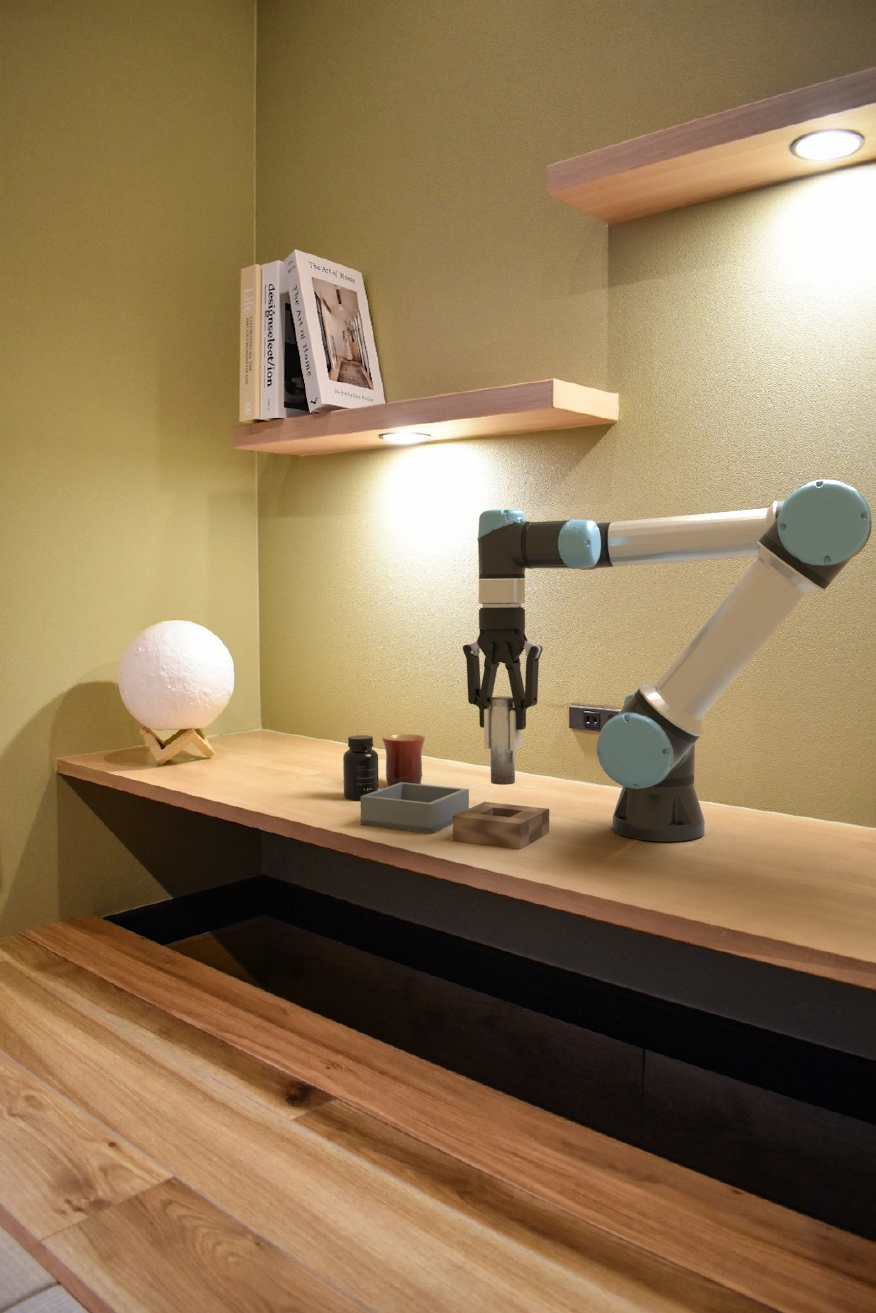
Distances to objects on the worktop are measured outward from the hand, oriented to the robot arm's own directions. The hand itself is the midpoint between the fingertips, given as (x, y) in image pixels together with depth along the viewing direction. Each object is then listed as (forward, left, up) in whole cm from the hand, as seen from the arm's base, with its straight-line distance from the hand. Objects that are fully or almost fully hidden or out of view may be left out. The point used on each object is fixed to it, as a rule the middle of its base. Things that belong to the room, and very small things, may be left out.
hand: (502, 748), depth 167 cm
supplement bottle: (+37, -15, -15) cm, 43 cm away
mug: (+36, -29, -15) cm, 49 cm away
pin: (0, 0, -6) cm, 6 cm away
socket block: (0, 0, -15) cm, 15 cm away
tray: (+18, -3, -15) cm, 24 cm away
